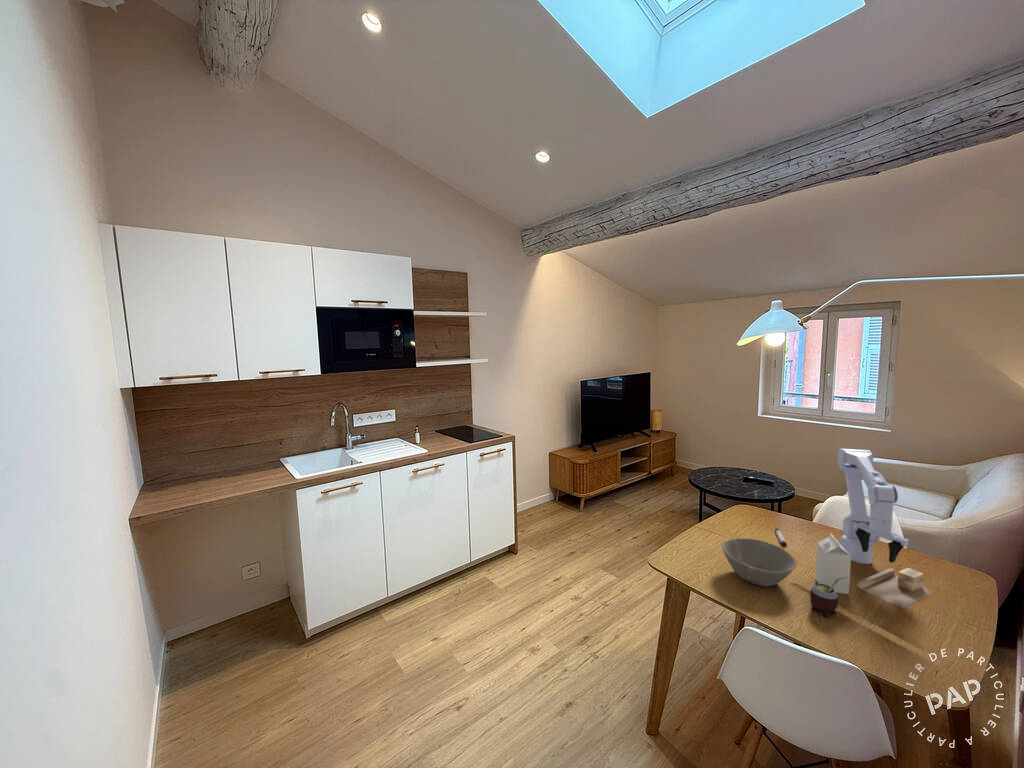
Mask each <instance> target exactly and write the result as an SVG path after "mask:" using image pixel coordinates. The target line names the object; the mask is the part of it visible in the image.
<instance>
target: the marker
mask: <svg viewBox="0 0 1024 768" xmlns="http://www.w3.org/2000/svg"><path fill="white" fill-rule="evenodd" d="M774 532H775V534H776V536H777V538H778V540H779V543H780V545H781V546H782V547H784V546H786V547H788V544H787V542H786V541H787V540H785V538H784V535H783V534H782V532H781V530H780V529H778V528H775V529H774Z"/></svg>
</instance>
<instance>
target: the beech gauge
mask: <svg viewBox="0 0 1024 768" xmlns="http://www.w3.org/2000/svg"><path fill="white" fill-rule="evenodd" d="M897 576H898V586H900V587H902V588H905V589H907V590H909V591H912V592H914V591H916V590H918V589H920V588H922V587H923V585H924V583H923V582H924V573H923V572H920V571H918V570H916V569H913V568H911V567H906V568H904V569H902V570H899V571H898V574H897Z"/></svg>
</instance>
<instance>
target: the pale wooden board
mask: <svg viewBox="0 0 1024 768" xmlns="http://www.w3.org/2000/svg"><path fill="white" fill-rule="evenodd" d="M895 571H896V569H894V568H893V567H889V568H887V569H884V570H883V571H879V572H877V573H875V574H873V575H870V576H868V577H865V578H863V579H861V580H859V581H857V585H856V587H857V589H860V590H862V591H864V592H866V593H868V594H869V595H872V596H874V597H876V598H878V599H881V600H883V601H884V602H887V603H889V604H891V605H893V606H896V607H897V608H899V609H902V610H903V609H905V608H907V607H909V606H910V605H912V604H914V603H916V602H918V601H921V600H922V599H924V598H926V597H928V596H930V595H932V594H935V591H934V590H932V589H929V588H927V587H924V586H922V588H920V589H918V590H916V591H914V592H912V591H909V590H907V589H905V588H902V587H900V586H898V575H896V574H895Z"/></svg>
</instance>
